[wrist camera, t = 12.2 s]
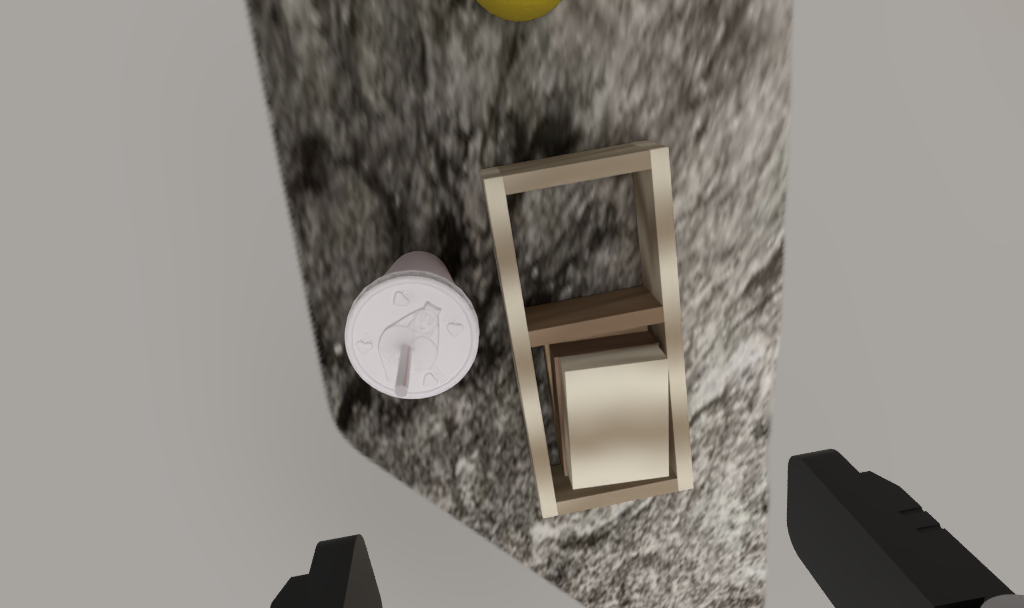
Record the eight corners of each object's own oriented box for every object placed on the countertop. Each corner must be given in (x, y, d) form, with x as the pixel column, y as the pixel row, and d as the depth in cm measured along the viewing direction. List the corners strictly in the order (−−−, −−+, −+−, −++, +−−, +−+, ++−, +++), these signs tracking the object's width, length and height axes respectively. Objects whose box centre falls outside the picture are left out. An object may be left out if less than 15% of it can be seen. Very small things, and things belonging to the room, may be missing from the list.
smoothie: (347, 297, 39) (299, 408, 26) (398, 208, 38) (375, 277, 24) (438, 345, 41) (436, 472, 28) (491, 262, 39) (515, 353, 26)
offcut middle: (548, 344, 40) (554, 357, 38) (648, 330, 40) (658, 343, 38) (559, 458, 43) (564, 476, 41) (652, 444, 43) (661, 461, 41)
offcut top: (559, 357, 38) (565, 372, 36) (657, 344, 38) (668, 358, 37) (567, 470, 41) (573, 489, 39) (658, 458, 41) (668, 476, 39)
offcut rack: (479, 169, 37) (483, 179, 34) (645, 140, 38) (668, 146, 34) (534, 481, 45) (543, 518, 41) (672, 454, 45) (693, 488, 42)
